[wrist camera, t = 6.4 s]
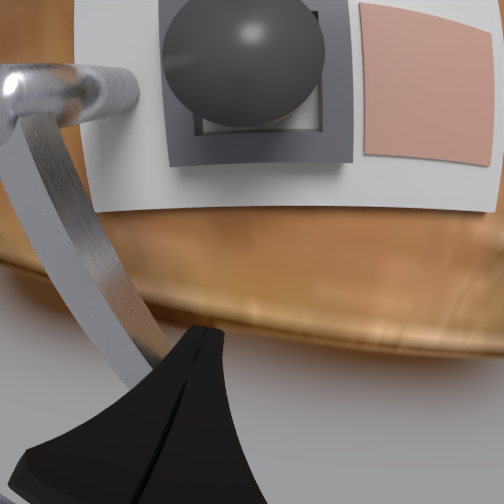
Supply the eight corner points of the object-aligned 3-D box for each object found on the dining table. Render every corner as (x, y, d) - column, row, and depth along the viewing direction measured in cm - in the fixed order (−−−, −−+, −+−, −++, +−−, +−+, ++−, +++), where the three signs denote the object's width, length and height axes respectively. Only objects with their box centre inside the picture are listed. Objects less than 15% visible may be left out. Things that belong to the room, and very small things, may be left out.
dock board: (489, 0, 9) (512, -7, 7) (487, 207, 14) (509, 223, 12) (82, 2, 11) (58, -6, 9) (101, 207, 16) (79, 223, 14)
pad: (489, 34, 9) (491, 33, 9) (488, 165, 12) (490, 166, 12) (358, 3, 10) (359, 2, 10) (363, 152, 13) (364, 153, 13)
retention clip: (88, 83, 12) (-34, 96, 5) (128, 58, 12) (9, 46, 5) (193, 310, 17) (150, 421, 11) (233, 300, 17) (204, 420, 10)
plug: (328, 97, 12) (363, 92, 7) (235, 139, 13) (203, 164, 8) (280, 11, 10) (280, -48, 5) (189, 56, 12) (128, 29, 6)
